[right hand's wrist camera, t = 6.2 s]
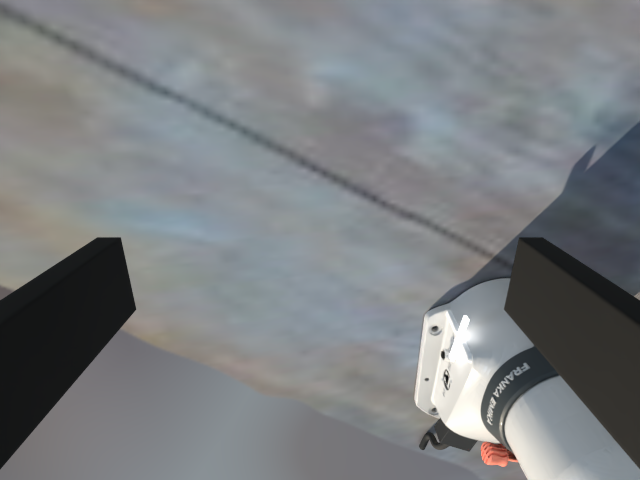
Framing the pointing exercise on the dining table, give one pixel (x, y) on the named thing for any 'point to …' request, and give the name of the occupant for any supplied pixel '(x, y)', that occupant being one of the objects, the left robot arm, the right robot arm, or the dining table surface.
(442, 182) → the dining table surface
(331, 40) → the dining table surface
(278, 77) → the dining table surface
